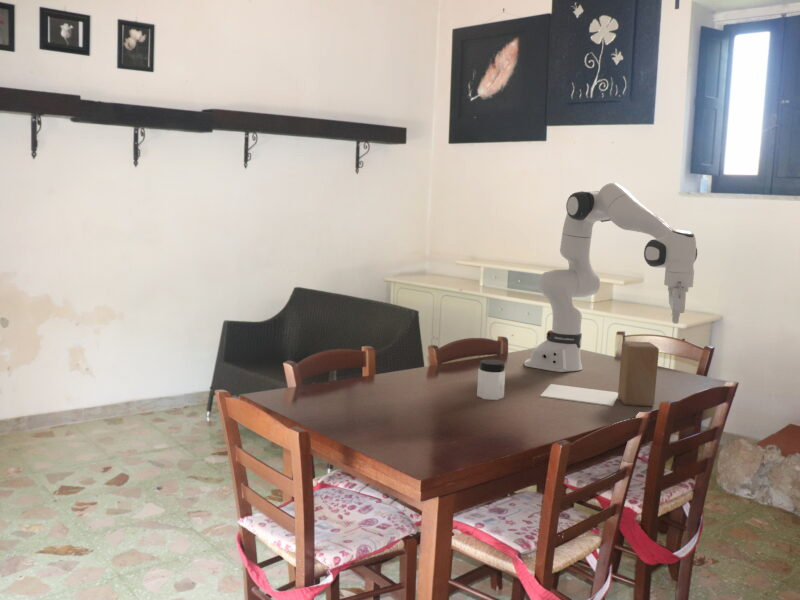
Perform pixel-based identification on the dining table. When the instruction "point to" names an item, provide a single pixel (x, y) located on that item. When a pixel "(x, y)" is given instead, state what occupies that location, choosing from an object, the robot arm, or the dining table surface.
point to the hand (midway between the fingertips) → (675, 322)
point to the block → (638, 373)
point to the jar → (491, 379)
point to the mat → (580, 395)
